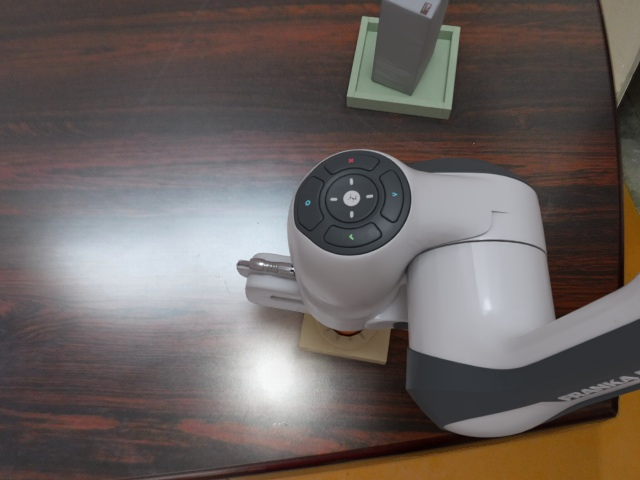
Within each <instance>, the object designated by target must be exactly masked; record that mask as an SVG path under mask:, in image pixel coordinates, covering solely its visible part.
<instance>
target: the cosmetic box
mask: <svg viewBox="0 0 640 480" xmlns="http://www.w3.org/2000/svg"><path fill="white" fill-rule="evenodd" d="M449 3H450V0H381V1H380V7H379V8H380V9H379V15H378V16H379V17H378V18H379V23H378V31H377V38H376V46H375V54H374V61H373V69H372V77H371V79H372V80H373V81H375V82H378V83H380V84H383V85H385V86H387V87H390V88H392V89H395V90H397V91H399V92H402V93H404V94H407V95H409V96H411V95H412V94H413V92H414V90H415V88H416V86H417V84H418V82H419V81H420V79H421V77H422V75H423V73H424V71H425V69H426V67H427V65H428V63H429V61H430V59H431V57H432V55H433V53H434V49H435V46H436V43H437V39H438V36H439V33H440V29H441V26H442V25H443V23H444V19H445V15H446V12H447V10H448V5H449Z"/></svg>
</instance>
